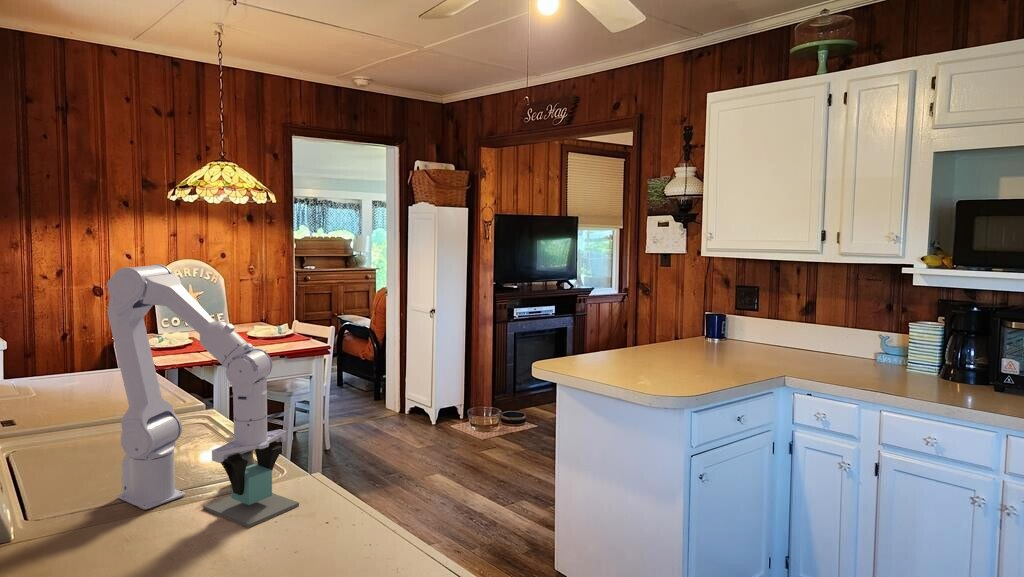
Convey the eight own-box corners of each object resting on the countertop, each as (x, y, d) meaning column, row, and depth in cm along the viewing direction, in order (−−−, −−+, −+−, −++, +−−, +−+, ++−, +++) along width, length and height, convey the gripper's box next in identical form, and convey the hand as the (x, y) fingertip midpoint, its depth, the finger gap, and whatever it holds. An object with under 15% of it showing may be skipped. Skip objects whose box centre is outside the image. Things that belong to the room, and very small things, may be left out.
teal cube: (231, 498, 124) (231, 472, 123) (254, 489, 128) (254, 464, 127) (249, 505, 121) (248, 478, 120) (272, 495, 125) (271, 469, 125)
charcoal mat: (203, 508, 123) (203, 505, 123) (254, 489, 133) (254, 486, 133) (248, 527, 117) (248, 524, 117) (299, 505, 126) (299, 502, 126)
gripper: (229, 431, 115) (230, 507, 116) (297, 411, 127) (297, 480, 128) (203, 423, 118) (205, 497, 120) (272, 405, 131) (272, 472, 132)
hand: (251, 488), depth 124 cm, fingers closed on teal cube, 5 cm apart
